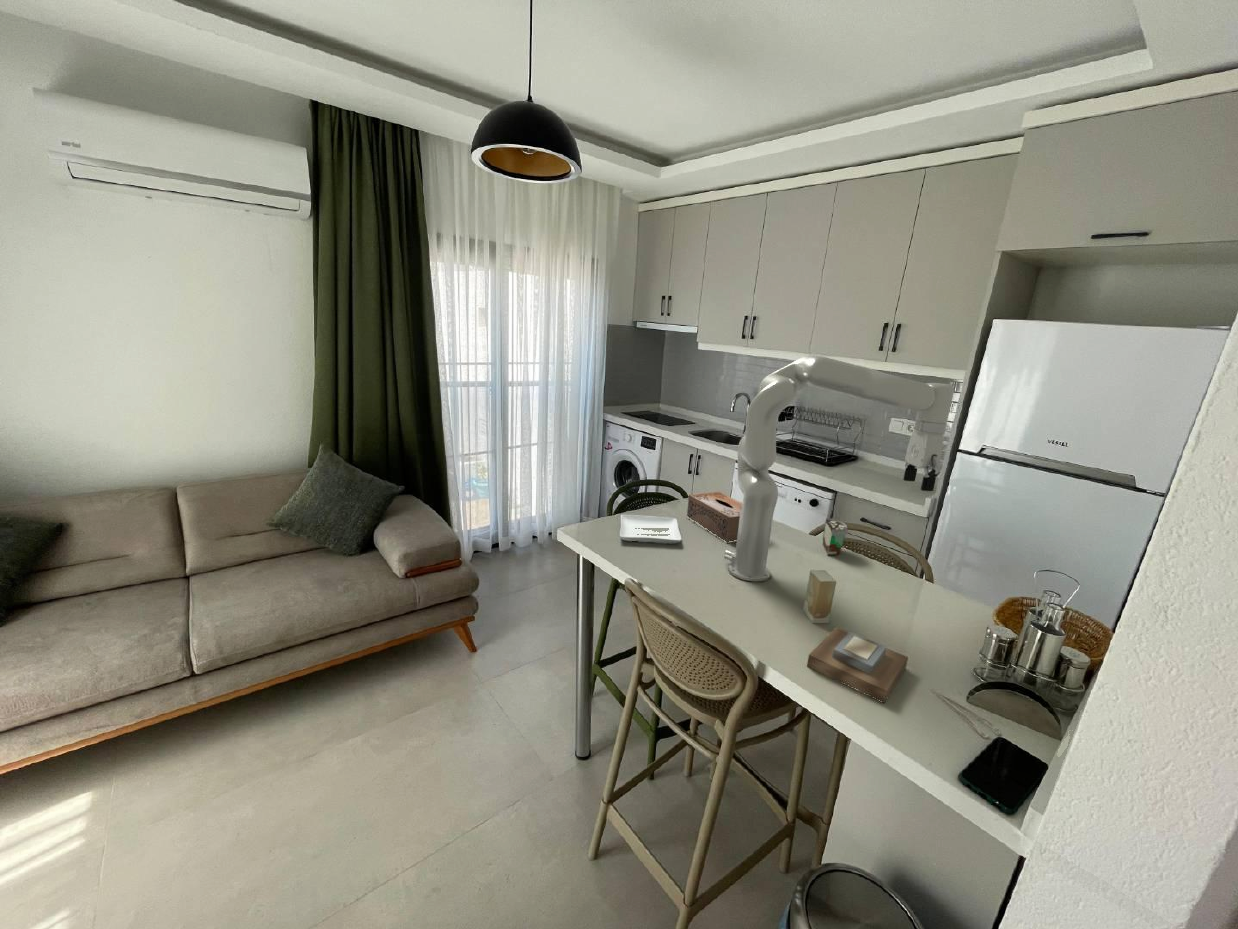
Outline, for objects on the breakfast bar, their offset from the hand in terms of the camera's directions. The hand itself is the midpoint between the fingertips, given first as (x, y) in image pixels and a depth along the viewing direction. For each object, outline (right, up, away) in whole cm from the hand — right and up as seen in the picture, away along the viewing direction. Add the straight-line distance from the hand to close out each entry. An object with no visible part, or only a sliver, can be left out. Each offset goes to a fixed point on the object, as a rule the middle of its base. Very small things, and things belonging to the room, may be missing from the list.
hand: (917, 485), depth 147 cm
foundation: (-34, -39, -34) cm, 62 cm away
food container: (-12, -24, +29) cm, 40 cm away
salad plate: (-76, -19, +35) cm, 86 cm away
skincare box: (-35, -34, -14) cm, 51 cm away
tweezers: (-19, -43, -44) cm, 65 cm away
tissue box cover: (-48, -18, +45) cm, 68 cm away
